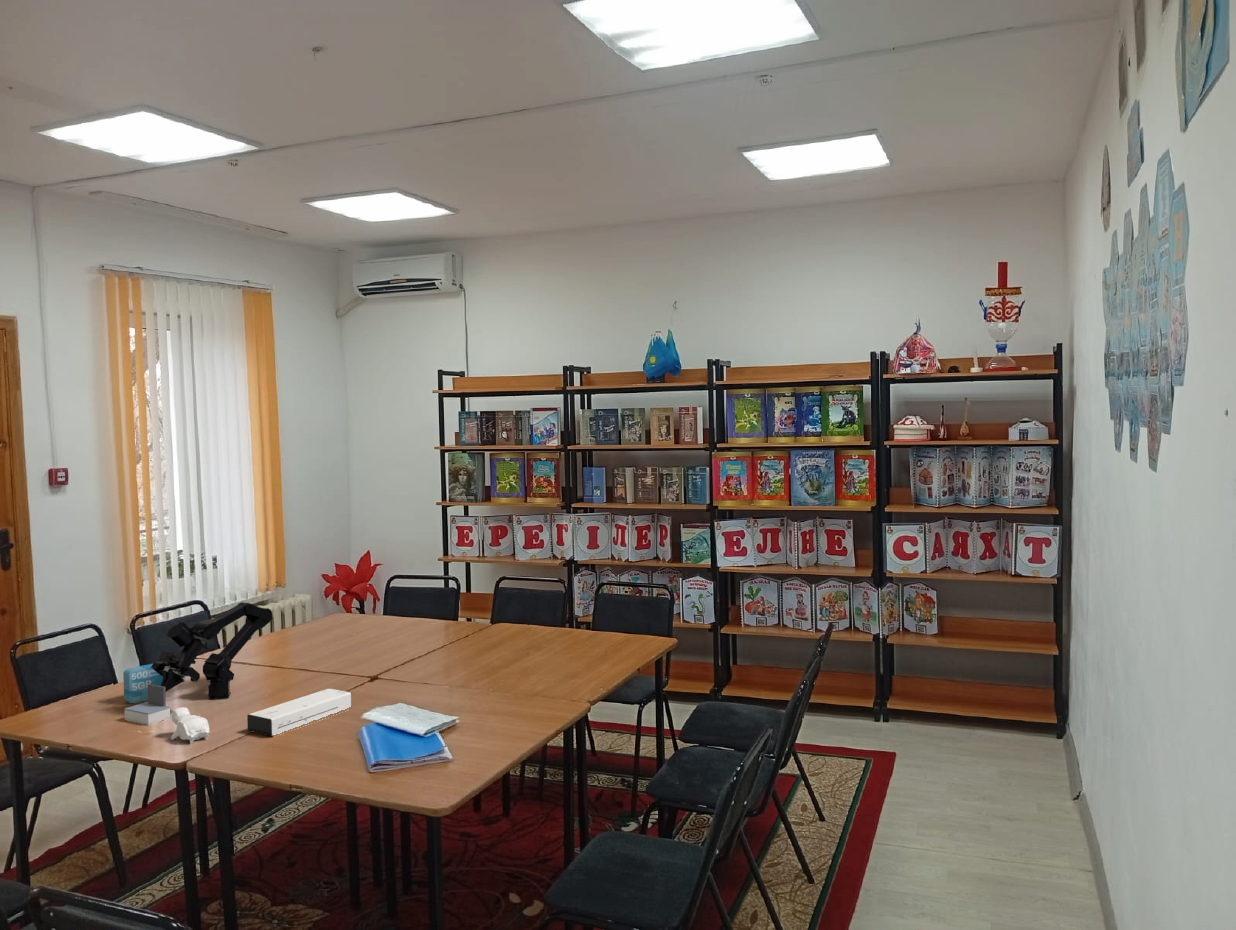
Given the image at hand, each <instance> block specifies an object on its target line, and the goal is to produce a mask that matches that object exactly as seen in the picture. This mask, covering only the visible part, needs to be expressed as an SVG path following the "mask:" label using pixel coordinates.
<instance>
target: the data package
mask: <svg viewBox="0 0 1236 930" xmlns="http://www.w3.org/2000/svg"><path fill="white" fill-rule="evenodd" d="M152 665H153V663H149V664H145V665H138V666H134V667H129V668H126V669H124V671H123V673H122V674H123V699H124V701H125V702H126V701H127V702H126V703H129V704H131V703H135V704H138V703H137V702H139V703H141V702H140V701H144V702H146V701H145V700H148V684H152V685H158V686H161V684H162V680H163V676H161V675H159V674H158V673H157V672H156V671H154V670H153V669H152V668H151V666H152Z"/></svg>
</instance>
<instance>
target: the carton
mask: <svg viewBox="0 0 1236 930" xmlns="http://www.w3.org/2000/svg"><path fill="white" fill-rule="evenodd" d="M166 719H167V720H170V719H171V707H170V708H169V709H166V710H163V711H159V712H156V713H153V714H150V715H146V714H142V713H137V712H132V711H127V710H125V709H124V721H125V720H129V721H128V722H130V721H132V722H131V723H135V724H139V723H140V724H141V725H144V724H146V725H145V726H151V725H155V724H158V723H160V722H159V721H161V722H163V721H162V720H164V721H167V720H166ZM136 722H137V723H136ZM157 722H158V723H157ZM154 723H155V724H154ZM150 724H151V725H150Z"/></svg>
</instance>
